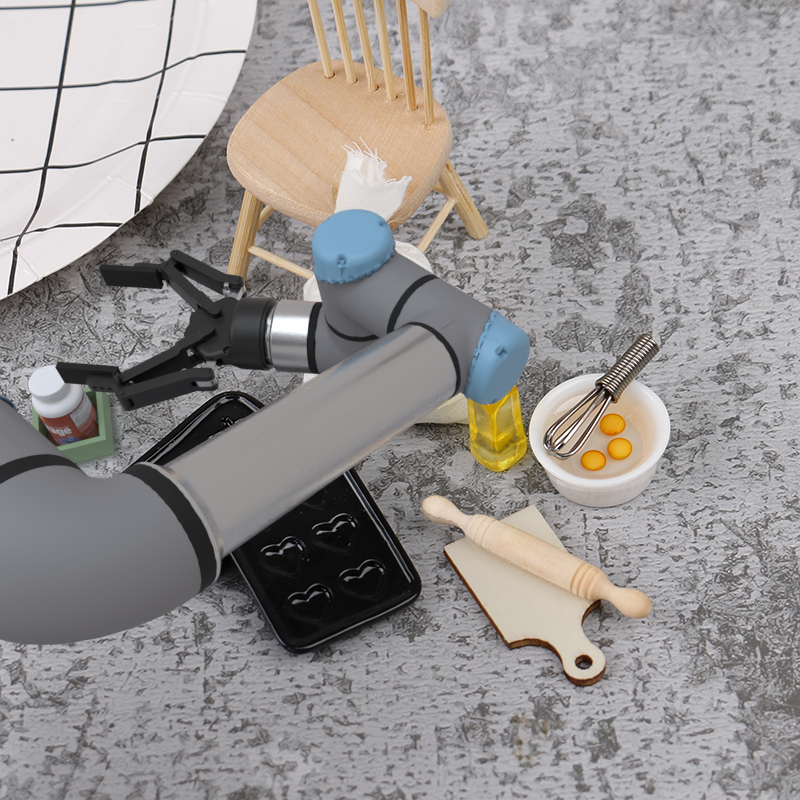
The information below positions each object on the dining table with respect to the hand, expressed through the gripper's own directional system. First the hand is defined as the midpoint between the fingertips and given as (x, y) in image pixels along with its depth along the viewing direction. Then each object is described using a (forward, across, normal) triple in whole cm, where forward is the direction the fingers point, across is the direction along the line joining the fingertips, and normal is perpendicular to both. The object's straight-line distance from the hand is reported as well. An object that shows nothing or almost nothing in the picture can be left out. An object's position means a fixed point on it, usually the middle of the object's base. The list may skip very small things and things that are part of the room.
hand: (82, 321), depth 101 cm
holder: (+10, +1, -25) cm, 27 cm away
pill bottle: (+10, +1, -24) cm, 26 cm away
